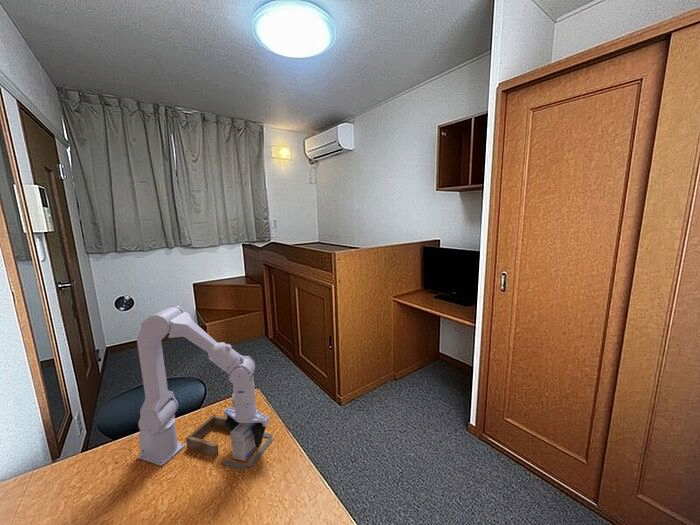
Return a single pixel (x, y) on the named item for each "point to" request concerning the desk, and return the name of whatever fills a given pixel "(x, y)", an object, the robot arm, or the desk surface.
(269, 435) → the frame
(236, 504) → the desk surface
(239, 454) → the medicine box
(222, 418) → the walnut shelf
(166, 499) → the desk surface
